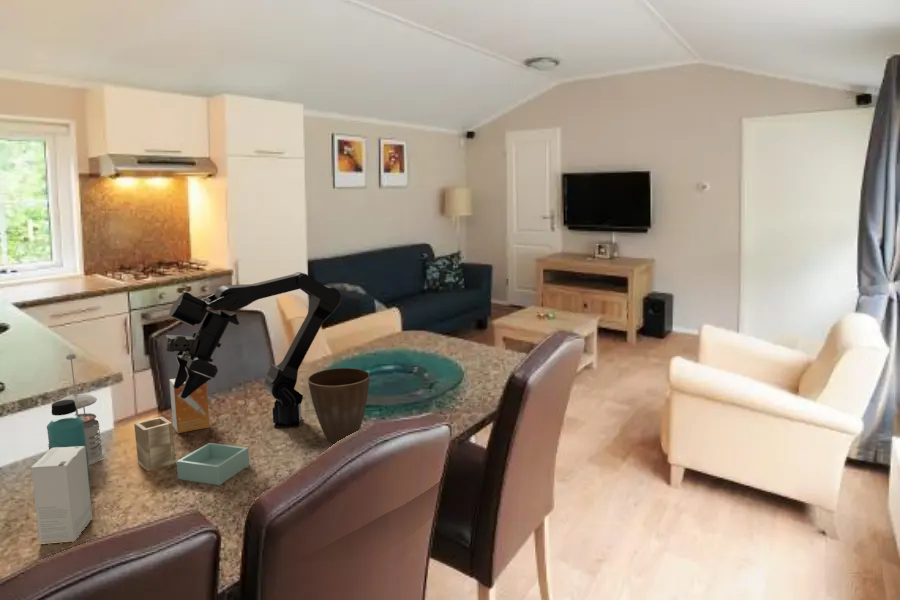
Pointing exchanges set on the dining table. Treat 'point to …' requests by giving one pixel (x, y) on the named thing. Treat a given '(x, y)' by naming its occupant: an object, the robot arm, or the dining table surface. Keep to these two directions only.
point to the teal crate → (213, 463)
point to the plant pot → (339, 400)
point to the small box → (189, 408)
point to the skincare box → (61, 494)
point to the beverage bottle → (66, 428)
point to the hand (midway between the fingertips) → (178, 392)
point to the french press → (87, 422)
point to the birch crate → (155, 443)
